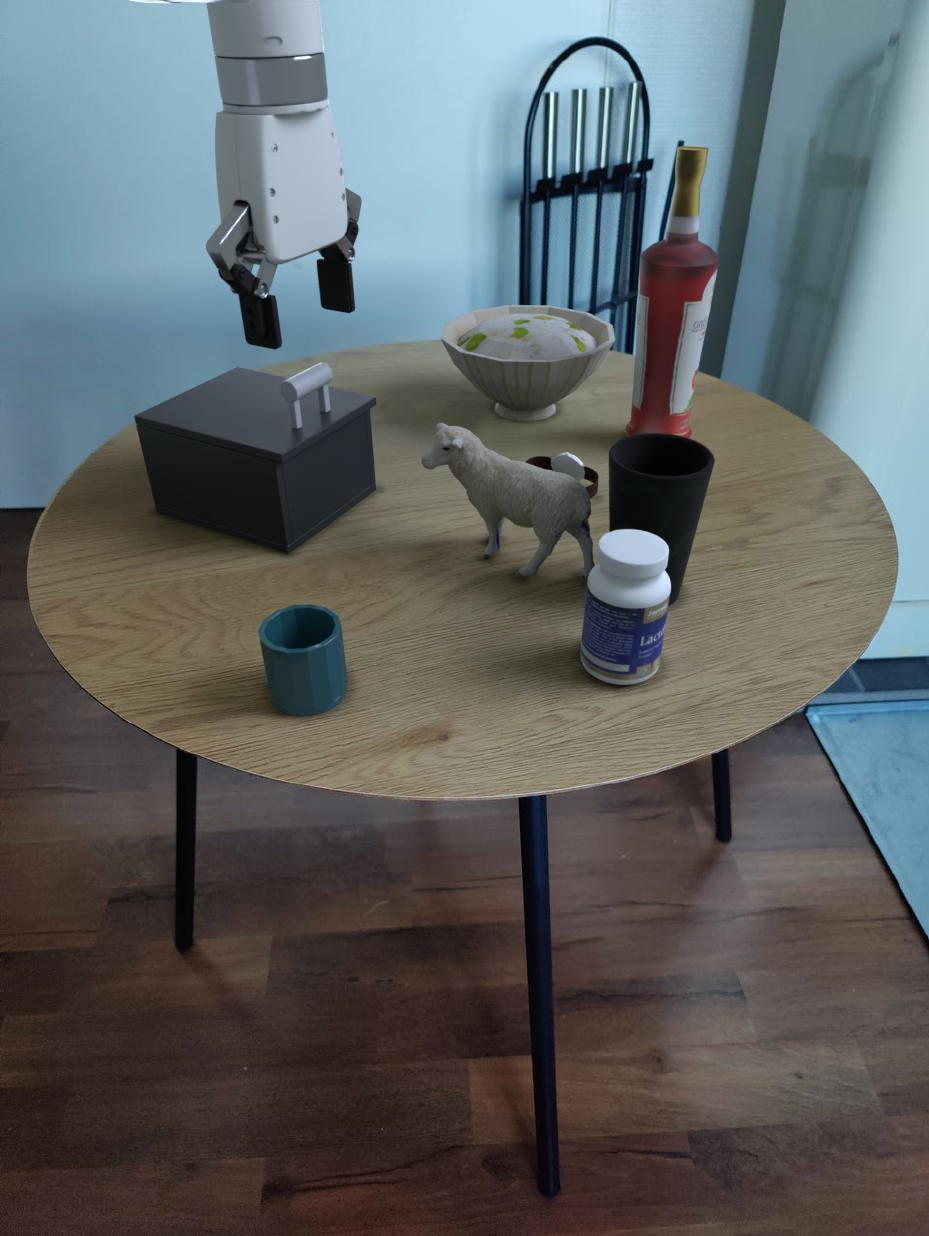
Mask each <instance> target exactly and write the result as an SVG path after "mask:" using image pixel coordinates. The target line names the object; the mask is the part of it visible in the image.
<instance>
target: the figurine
mask: <svg viewBox="0 0 929 1236" xmlns="http://www.w3.org/2000/svg"><path fill="white" fill-rule="evenodd" d="M435 428H436V430H437V431H436V432H435V434H434V435H433V441H432V443H431V446H430V447H429V449H428V450H427V451H426V452H425V454H423V455H422V457H421V460H420V461H421V465H422V466H423V467H424V468H425V469H427V470H429V471H430V470H434V469H436V468H438V467H441V466H448V469H449V470H450V472H451V474H453V476H454V478H455V479H456V480H457V481H458V482H459V483H460V484H461V486H462V487H463V488H464V489H465V490H466V495H467V498H468V501H469V502H470V503H471V505H472V506H473V508H475V509H476V510H477V512H478V514H479V517H481V519H483V521H484V523H485V526H486V529H487V533H488V536H487V538H486V539H485V541H486V542H487V548H486V549H485V550H484V552H483V553H482V555H483V556H482V557H483V558H485V559H492V558H494V556H495V555H496V554H497V552H499V551H500V549H501V544H500V536H501V535H502V534H503V532H504V531H503V530H504V529H503V528H504V523H505V520H506V519H507V520H509V521H510V522H511V523H513V524H514V525H515V526H517V527H522V528H528V529H531V528H532V529H533V533H534V534H535V536H536V537H537V539H538V541H539V544H538V548H537V550H536V552H535V553H534V554H533V556H532V557H531V558H530V560H529V561H528V562H527V563H526V564H524V565H523V566H521V567H520V568H519V569H518V570H516V575H517V577H519V578H521V579H526V578H527V577H529V576H531V575H533V574H536V573H537V572H538V570H539V569H540V567H541V566H542V564H543V563H544V561H546V559H547V558H548V557H550V555H552V553H553V551H554V549H555V546H556V545H557V543H558V542H559V541H560V539H561V538H562V536H563V534H564V533H565V532H567V533H568V534H569V535H570V536H571V537H573V538H574V539H576V540H577V543H578V546H579V548H580V550H581V553H582V558H583V567H582V571H581V572H580V574H579V577H580V579H581V580H582V581H583V580H585V579H586V578H588V576H589V573H590V571H591V570H592V568H593V567H594V566H595V565H596V564H595V561H594V553H593V552H594V542H593V539H592V536H591V525H590V523H589V519H590V517H591V515H592V502H591V498H589V494H588V492H587V490H586V488H585V487H586V486H584V485H583V484H582V483H581V482H580V481H577V480H576V479H575V478H573V477H572V476H570V475H567V474H564V473H560V472H555V471H552V470H545V469H542V468H539V467H536V466H534V465H531V464H528V463H525V462H526V461H520V460H512V459H510V458H509V457H507V456H505V455H502V454H499V453H497V452H495V451H494V450H493V449H489V448H487V447H486V446H485V445H484V444H483V443H482V441H481V439H480V438H479V437H478V436H476V435H475V434H474V433H473V432H472V431H471V430H469V429H467V428H465V427H462V426H458V425H454V426H453V425H448V424H445V423H443V422H439V423H436V426H435Z"/></svg>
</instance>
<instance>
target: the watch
mask: <svg viewBox="0 0 929 1236" xmlns="http://www.w3.org/2000/svg"><path fill="white" fill-rule="evenodd" d="M524 462H525V463H528V464H531V465H534V466H536V467H539V468H542V469H545V470H550V471H553V472H560V473H564V474H567V475H570V476H572V477H573V478H575V479H576V480H577V481H579V482H580V481H581V480H585V481H588V482H590V483H592V484H590V485H588V486H584V487H585V488H586V490H587V492H588V494H589V498H590V499H593V498H594V497H595V496H596V495H597V494H598V492H599V479H600V477H599V474H598V472H597V471H596V470H595V469H593V468H591V467H589V466H586V465H585V464H584V463H583V462H582V460H580V458H579V457H578V456H576V455H574V454H572V453H570V452H569V451H566V452H562V453H559V454H558V455H556V456H555V457H553V456H547V455H536V456H532V457H530V458H528V459H527V460H525V461H524Z"/></svg>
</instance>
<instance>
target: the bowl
mask: <svg viewBox="0 0 929 1236" xmlns="http://www.w3.org/2000/svg"><path fill="white" fill-rule="evenodd" d="M439 339H440V340H441V342H442V344H443V346H444V348H445V349H446V352H447V353H448V355H449V357H450V359H451V361H452V364H453V365H454V367H456V369H458V370H459V371H460V373H462V375H463V376H464V377H465V378H466V379H467V380H468V381H469V382H470V383H471V385H472V386H473V387H474V388H475V389H476V390H478V391H479V392H480V393H482V394H483V395H484V396H486V397H487V398H488V399H490V400H492V401H494V402H496V403H495V406H494V412H495V413H496V414H498V415H499V416H500V417H502V418H505V419H509V420H513V421H516V422H517V421H519V422H520V421H521V422H522V421H523V422H535V421H539V420H543V419H548V418H549V417H551V416H553V415H554V414H555V413H556V409H557V408H556V407H557V405H556V403H557V402H559V401H561V400H563V399H565V398H566V397H567V396H569V395H571V394H572V393H574V392H575V391H576V390H577V389H579V388H580V386H582V384H583V383H585V382H586V381H587V380H588V378H590V377H591V376H592V375H593V373H595V372H596V371H597V370H598V369H599V368H600V366H601V365H602V363H603V362H604V360H605V358H606V356H607V355H608V353H609V351H610V350H611V348H612V347H613V345H614V343H615V342H616V337H615V331H614V325H613V324H612V323H609V322H608V321H605V319H602V318H599V316H596V315H594V314H592V313H590V312H588V311H582V310H577V309H570V308H567V307H560V306H555V305H545V304H543V305H541V304H540V305H539V304H535V305H532V304H531V305H529V304H526V305H525V304H505V305H500V306H493V307H487V308H486V307H485V308H481V309H475V310H468V311H467V312H465V313H463V314H460V315H458V316H456V317H454V318H452V319H450V320H448V321H446V322H444V323H443V326H442V331H441V333H440V336H439Z"/></svg>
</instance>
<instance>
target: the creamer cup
mask: <svg viewBox="0 0 929 1236" xmlns="http://www.w3.org/2000/svg"><path fill="white" fill-rule="evenodd" d="M257 632H258V638H259V645H260V649H261V656H262V660H263V661H262V662H263V666H264V672H265V676H266V683H267V689H268V693H269V698H270V701H271V703H272V705H274V707H275V708H276V709H277V710H279V711H281V712H282V713H284V714H288V715H291V716H298V717H307V716H314V715H320V714H323V713H325V712H328V711H330V710H332V709H334V708H335V707H336V706H338V705H339V704H340V703H342V701H343V700H344V698H345V697H346V695H347V692H348V683H349V682H348V681H349V680H348V672H347V663H346V662H347V661H346V654H345V645H344V644H345V643H344V637H343V636H344V635H343V628H342V623H341V620H340V617H339V615H338V614H337V613H335V612H334V611H333V610H332V609H329V608H328V607H326V606H322V605H317V604H313V603H312V604H311V603H310V604H309V603H307V604H292V605H290V606H287V607H284V608H280V609H277V610H275V611H274V612H272V613H270V614H269V615H268V616H266V617H264V619H263V620H262V622H261V623H260V626H259V627H258V629H257Z"/></svg>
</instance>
